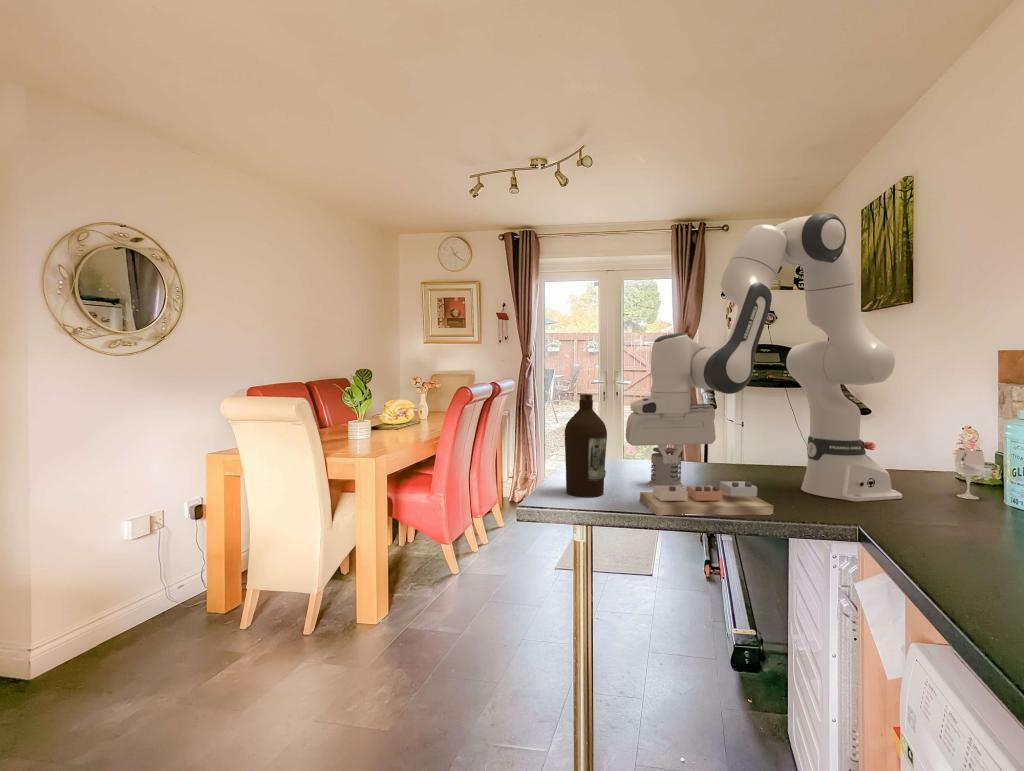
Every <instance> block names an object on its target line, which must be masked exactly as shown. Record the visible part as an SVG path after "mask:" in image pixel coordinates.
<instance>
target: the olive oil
mask: <svg viewBox="0 0 1024 771" xmlns="http://www.w3.org/2000/svg"><path fill="white" fill-rule="evenodd" d="M578 401H579V402H578V403H579V404H578V406H579V408H578V410H577V411H576V412H575V413H574V414H573V416H572V417H571V418H570V419H568V421H567V423H566V425H565V427H564V450H565V451H564V452H565V453H564V454H565V456H564V458H565V459H564V460H565V492H566V493H567V494H568V495H570V496H575V497H579V498H580V497H581V498H595V497H600V496H602V495H604V489H605V488H604V487H605V478H606V472H607V471H606V456H607V441H608V432H607V428H606V427H607V426H606V424H605V423H604V421H603V420H602V418H600V416H599V415H598V414H597V413H596V412H595V411H594V409H593V407H594V406H593V405H594V400H593V394H591V393H580V394H579V400H578Z"/></svg>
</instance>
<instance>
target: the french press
mask: <svg viewBox="0 0 1024 771" xmlns="http://www.w3.org/2000/svg"><path fill="white" fill-rule="evenodd" d="M675 449H676V448H674V447H670V445H667V449H666V450H665V449H664V450H665V452H666V454H667V455H673V453H674V451H675ZM652 451H653V453H651V457H650V458H651V460H650V461H651V464H650V465H651V466H650V469H651V470H650V480H649V481H648V482H647V483H648V484H647V486H648V485H649V486H648V487H650V486H651V488H653V486H679V487H681V488H683V487H684V488H685V485H684V484H683V482H682V471H681V470H682V455H681V454H680V455H679V456H678V464H664V463H663V455H662V454H661V452H660V450H659V449H658V446H657V447H654V448H652ZM684 488H683V489H684Z"/></svg>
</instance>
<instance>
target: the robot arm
mask: <svg viewBox="0 0 1024 771" xmlns="http://www.w3.org/2000/svg"><path fill="white" fill-rule="evenodd" d="M846 241H847V229H846V226H845V224H844V222H843V221H842V219H841V218H840V217H839V216H837V215H836V214H834V213H829V212H826V213H825V212H818V213H815V214H812V215H805V216H804V215H803V216H799V217H794V218H792V219H789V220H787V221H784V222H781V223H778V224H772V225H771V224H763V223H762V224H758V225H755V226H753V227H752V228H750V229H749V230H748V231H747V232H746V233H745V235H744V236H743V238H742V239H741V240H740V242H739V243H738V245H737V247H736V248H735V250H734V252H733V253H732V255H731V258H730V259H729V261H728V263H727V265H726V267H725V269H724V272H723V275H722V279H721V282H720V286H721V291H722V293H723V295H724V296H725V297H726V299H727V300H728V301H729V302H731V303H733V304H734V305H736V306H737V313H736V316H735V319H734V321H733V324H732V328H731V330H730V332H729V335H728V338H727V339H726V342H725V343H723V344H722V345H721V346H719V347H707V346H706V345H703V344H701V343H699V342H696V341H695V340H694V339H692V338H690V336H689V335H688V334H687V333H685V332H676V333H670V334H663V335H661V336H658V337H657V338H656V339H655V340H654V341H653V343H652V348H651V354H650V374H651V378H652V379H651V380H652V382H651V383H652V384H651V387H650V396H647V397H644V398H641V399H638V400H636V401H635V400H634V401H632V402H631V403H630V410H631V413H630V414H629V415H628V417H627V420H626V428H625V440H626V442H627V444H629V445H630V446H657V447H658V449H659V450H660V452H661V454H662V455H663V463H664V464H678V456H679V455H681V453H682V451H683V449H684V446H683V445H712V444H713V443H714V442H715V441H716V437H717V436H716V428H715V418H716V410H715V408H714V407H713V406H712V405H710V404H709V403H691V398H692V397H691V394H692V393H691V392H692V391H691V389H692V388H696V389H704V390H708V391H716V392H719V393H722V394H726V395H727V394H729V395H731V394H732V395H733V394H736V393H739V392H741V391H743V390H744V389H745V388H746V387H747V386H748V384H749V383H750V382H751V380H752V377H753V372H754V366H755V356H756V352H757V348H758V346H759V342H760V341H761V336H762V334H763V330H764V327H765V325H766V323H767V319H768V316H769V312H770V310H771V305H772V301H773V299H772V298H773V297H772V296H773V295H772V292H771V291H772V287H773V284H774V282H775V279H776V277H777V275H778V272H779V271H780V268H782V267H794V266H796V267H797V266H800V267H801V268H802V270H803V290H804V298H805V308H806V316H807V319H808V321H809V323H810V324H812V325H813V326H814V327H817V328H819V329H820V330H822V331H823V332H824V333H825V335H826V336H827V337H828V339H829V340H818V341H817V340H816V341H814V340H813V341H808V342H805V343H804V342H803V343H800V344H796V345H794V346H793V347H791V349H790V350H789V351H788V354H787V356H786V361H785V362H786V363H785V364H786V369H787V371H788V374H789V375H790V376H791V377H792V378H793V379H794V380H796V382H797V383H798V384H799V386H801V388H802V390H803V391H804V394H805V396H806V398H807V401H808V408H809V436H807V449H806V451H807V464H806V470H805V475H804V477H803V481H802V484H801V487H800V490H801V491H803V492H804V493H807V494H812V495H814V496H820V497H824V498H826V497H827V498H832V499H839V500H845V501H849V502H871V501H885V500H886V501H887V500H898V499H899V500H901V499H903V494H902V493H901V492H899V491H897V490H895V489H892V480H891V476H890V473H889V472H888V471H887V469H885V468H884V467H883V466H882V465H880V464H879V463H877V462H876V461H875V460H874V459H873V458H871V457H870V456H868V455H867V452H866V450H869V451H874V450H875V449H876V447H877V446H876V444H875V443H874V442H871V441H868V440H867V441H863V440H862V439H860V436H861V435H860V434H861V432H860V431H861V410H860V408H859V407H858V405H857V404H856V403H854V402H853V401H852V400H850V399H848V398H847V397H846V396H845V395H844V393H843V391H842V387H841V385H855V386H864V385H872V384H878V383H883V382H885V381H887V379H889V378H890V376H891V375H892V373H893V371H894V369H895V364H896V360H895V355H894V353H893V350H892V349H891V348H890V346H888V345H887V343H884V342H883V341H881V340H880V339H879V338H877V337H876V336H875V335H874V334H873V333H872V332H871V331H870V330H869V329H868V327H867V326H866V323H864V320H863V318H862V316H861V312H860V309H859V303H858V296H857V287H856V279H855V272H854V266H853V262H852V258H851V256H850V252H849V250H848V248H847V246H846ZM668 445H669V446H672V445H673V448H676V449H675V451H674V453H672V454H673V455H671V454H669V455H667V454H666V452H665V450H666V449H667V447H668ZM664 449H665V450H664Z"/></svg>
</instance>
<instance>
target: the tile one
mask: <svg viewBox="0 0 1024 771" xmlns="http://www.w3.org/2000/svg"><path fill="white" fill-rule="evenodd" d="M652 492H653V495H654V496H656V497H657V498H658V499H659V500H661V501H687V491H686V489H684V488H681V487H679V486H653V487H652Z"/></svg>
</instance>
